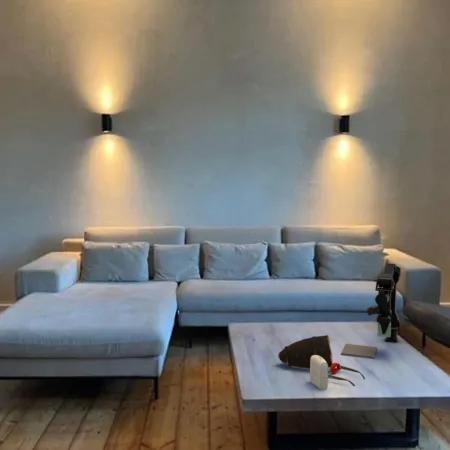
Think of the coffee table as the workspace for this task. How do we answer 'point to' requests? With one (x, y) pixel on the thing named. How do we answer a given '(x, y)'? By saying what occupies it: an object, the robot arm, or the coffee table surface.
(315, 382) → the photo printer
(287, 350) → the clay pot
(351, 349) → the mat
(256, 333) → the coffee table surface
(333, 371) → the novelty glasses
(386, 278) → the robot arm
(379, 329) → the cube
